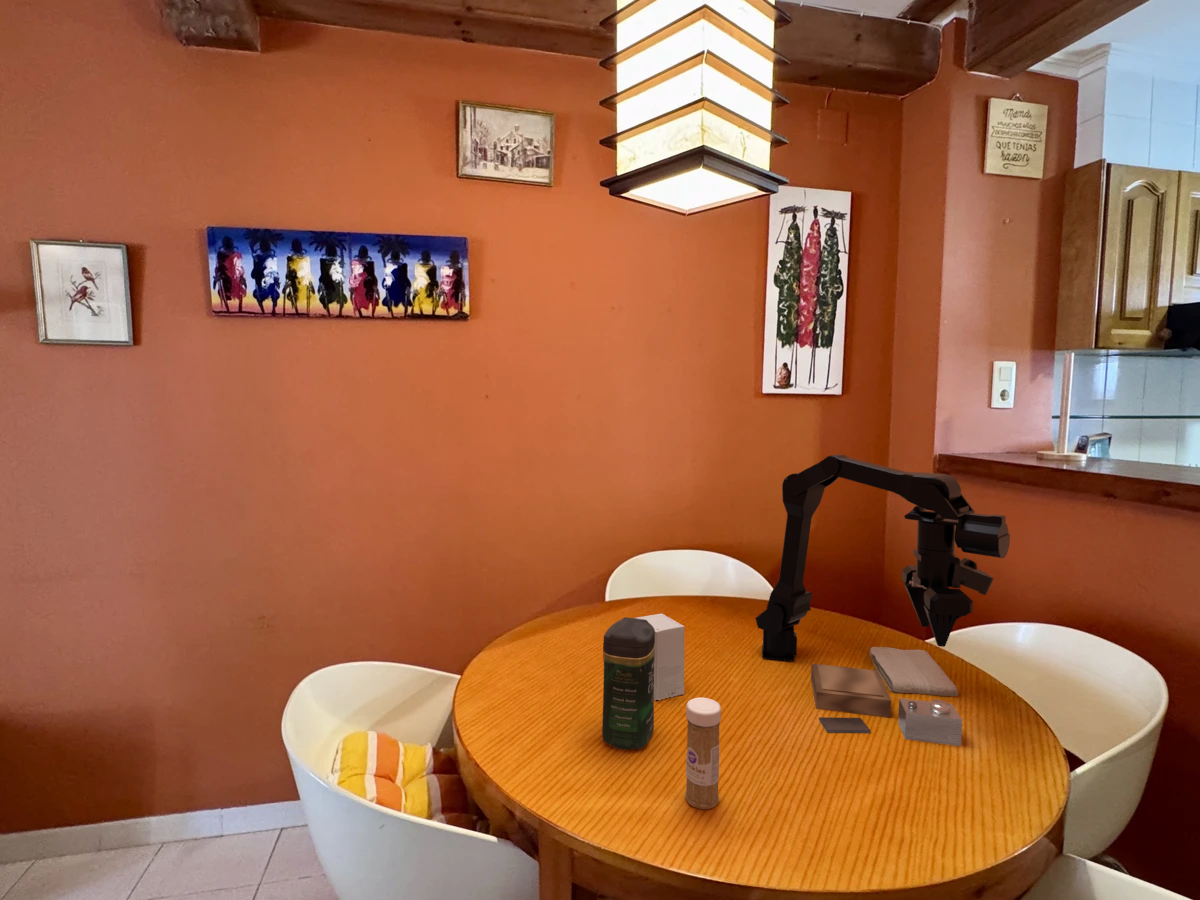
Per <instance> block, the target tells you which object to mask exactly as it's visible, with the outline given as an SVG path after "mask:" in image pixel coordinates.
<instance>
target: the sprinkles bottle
mask: <svg viewBox="0 0 1200 900" xmlns="http://www.w3.org/2000/svg"><path fill="white" fill-rule="evenodd" d="M685 709H686V711H685V715H686V716H685V717H686V721H687V730H686V731H687V732H686V738H687V739H686V741H687V742H686V755H685V757H686V759H685V760H686V761H685V775H686V779H685V780H686V787H685V793H684V795H685V799H686V802H688V804H689V805H690V806H692V807H694V808H695V809H699V810H709V809H712V808H714V807H716V806H717V804H718V803H719V801H720V799H719V798H720V797H719V779H720V724H721V719H722V710H721V709H722V708H721V705H720V703H719V702H717V701H716V700H714V699H711V698H708V697H695V698H691V699H690V700H688V702H687V703H686V708H685Z"/></svg>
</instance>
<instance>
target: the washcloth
mask: <svg viewBox="0 0 1200 900" xmlns="http://www.w3.org/2000/svg"><path fill="white" fill-rule="evenodd" d="M869 656H870V659H871V661H872V664H873V666H874V668H875V670H878V671H879V674H880V676H881V678H882V681H883V682H884V684H886V686H887V688H888V690H889V691H891V692H894V693H898V694H901V693H902V694H909V693H912V694H917V693H918V694H919V695H928V694H929V696H934V695H935V696H937V695H939V696H938V697H949V696H955V697H958V696H959V693H958V688H957V686H956V685H955V684H954V682H953V681H952V680H951V678H949V676H948V675H947V674H946V673H945V672H944V669H943V668H941V666H940V665H939V664H938V663H937V662H936V661H935V659H933V657H932V656H931V654H929V652H928V651H926V650H923V649H899V648H895V647H894V648H893V647H888V646H882V647H881V646H872V647H871V648H870V650H869ZM918 694H917V695H918Z"/></svg>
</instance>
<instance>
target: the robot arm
mask: <svg viewBox="0 0 1200 900" xmlns="http://www.w3.org/2000/svg"><path fill="white" fill-rule="evenodd" d="M839 478H842V479H845V480H849V481H851V482H855V483H860V484H863V485H866V486H870V487H873V488H877V489H881V490H884V491H887V492H891V493H893V494H895V495H898V496H900V497H902V498H903V499H904V500H905V501H907V502H909V503H911V504H913V505H915V506H914V507H913V508H912V509H911V510H910V511H909V512H907V514H905V515H904V516H903V518H904V519H906V520H911V521H917V525H916V527H917V528H916V529H917V530H916V532H917V533H916V548H915V549H913V552H912V553H913V554H912V555H913V557H915V558H916V559H915V560H916V561H915V562H916V565H906V566H905V567H904V568H903V569H901V581H903V585H904V588H905V590H906V592H907V594H908V597H909V599H910V601H911V604H912V606H913V609H914V611H915V613H916V615H917V619H918V621H919V623H920V626H921V627H923V628H929V626H930V629H931V631H932V634H933V635H932V636H933V637H934V640H935V642H936V645H937V646H938V647H943V648H944V647H946V644H947V643H948V641H949V638H950V635H951V632H952V630H953V627H954V625H955V623H956V621H957V620H958V619H960V618H962V617H966V616H968V615H969V614H973V610H974V601H973V600H972V598H971V597H969V596H968V595H967V594H966V593H965V592H964V591H963V590H961V587H966V588H968V589H971V590H974V591H976V592H978V593H979V594H980V595H983V596H987V594H988V592H989V590H990V588H991V585H992V584H993V581H994V579H995V578H994V577H993V576H991V575H990V574H988V573H987V572H986V571H983V570H981V569H979V568H978V564H977V563H976V562H975V560H972V559H970V558H966V557H964V558H962V559H960V557H958V556H957V555H955V552H956V551H955V550H956V549H955V548H959V549H960V550H961V552H963V553H966V554H973V555H978V556H984V557H985V556H988V557H991V558H992V557H993V558H999V559H1005V558H1006V557H1007V555H1008V552H1009V548H1010V543H1011V542H1010V541H1011V534H1010V532H1009V527H1008V524H1007V523H1006V521H1007V520H1006V516H1005V515H1003V514H986V513H985V514H984V513H976V512H975V510H974V509H973V507H972V506H971V505H970V503H969V502H968V501H967V499H966V498H965V496H964V495H963V494H962V489H961V486H960V483H959V481H957V479H956V477H954V476H952V475H949V474H947V473H935V472H917V471H916V472H915V471H904V470H899V469H895V468H891V467H888V466H884V465H880V464H877V463H872V462H868V461H865V460H860V459H857V458H854V457H853V458H852V457H850V456H847V455H845V454H832V455H829V456H826V457H825V458H824V459H822V460H821V461H818V462H817V463H815V464H813V465H812V466H809V467H807V468H805V469H804V470H802V471H800V472H795V473H791V474H789V475H788V476H786V477H784V479H783V480H782V481H783V482H782V484H781V487H782V488H781V491H782V492H781V493H782V503H783V507H784V508H785V512H786V523H785V530H784V539H783V547H782V554H781V560H780V561H781V562H780V568H779V570H780V571H779V576H778V581H777V582H776V584H775V586H774V588H773V589H772V591H771V592H770V594H769V599H768V602H767V604H766V605H767V606H766V609H765V610H764V611H763V612H761V613H760V614H758V615H757V616H756V617H755V621H756V626H757V628H758V629H760V630H762V645H761V658H762V659H766V660H775V661H783V662H784V661H785V662H786V661H787V662H794V661H795V656H797V649H798V647H797V644H798V636H797V632H795V627H794V626H798V625H799V624H800V622H801V619H803V618H805V617H806V616H807V614H808V612H810V611H811V610H812V608H811V600H812V597H813V593H812V591H807V590H806V588H805V585H804V577H805V570H806V563H807V562H806V561H807V557H808V547H809V542H810V541H809V540H810V534H811V525H812V519H813V516H814V514H815V513H816V510H817V509H818V507H819V506H820V504H821V501H822V498H823V496H824V493H825V492H824V491H825V489H826V488H828V487H829V486H831V485H832V484H833V483H834V484H835V482H836V481H837V480H838V479H839ZM955 545H956V546H955Z"/></svg>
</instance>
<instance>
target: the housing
mask: <svg viewBox="0 0 1200 900" xmlns="http://www.w3.org/2000/svg"><path fill="white" fill-rule="evenodd" d="M897 719H898V722H897V724H898V726H899V729H900V731H901V733H902V736H903V737H904V739H905V740H907V741H908V740H909V741H917V742H924V743H925V742H926V743H931V742H932V744H939V745H940V743H941V745H947V744H948V746H954V745H955V746H956V747H962V734H963V733H962V731H963V718H962V717H961V715H960V714H959V712H958V710H957V709H956V708H955V706H954V704H952V703H948V702H947V701H945V700H942V699H931V700H930V701H928V700H926V701H925V700H919V699H918V700H916V699H909V698H903V697H902V698H899V697H898V718H897Z"/></svg>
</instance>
